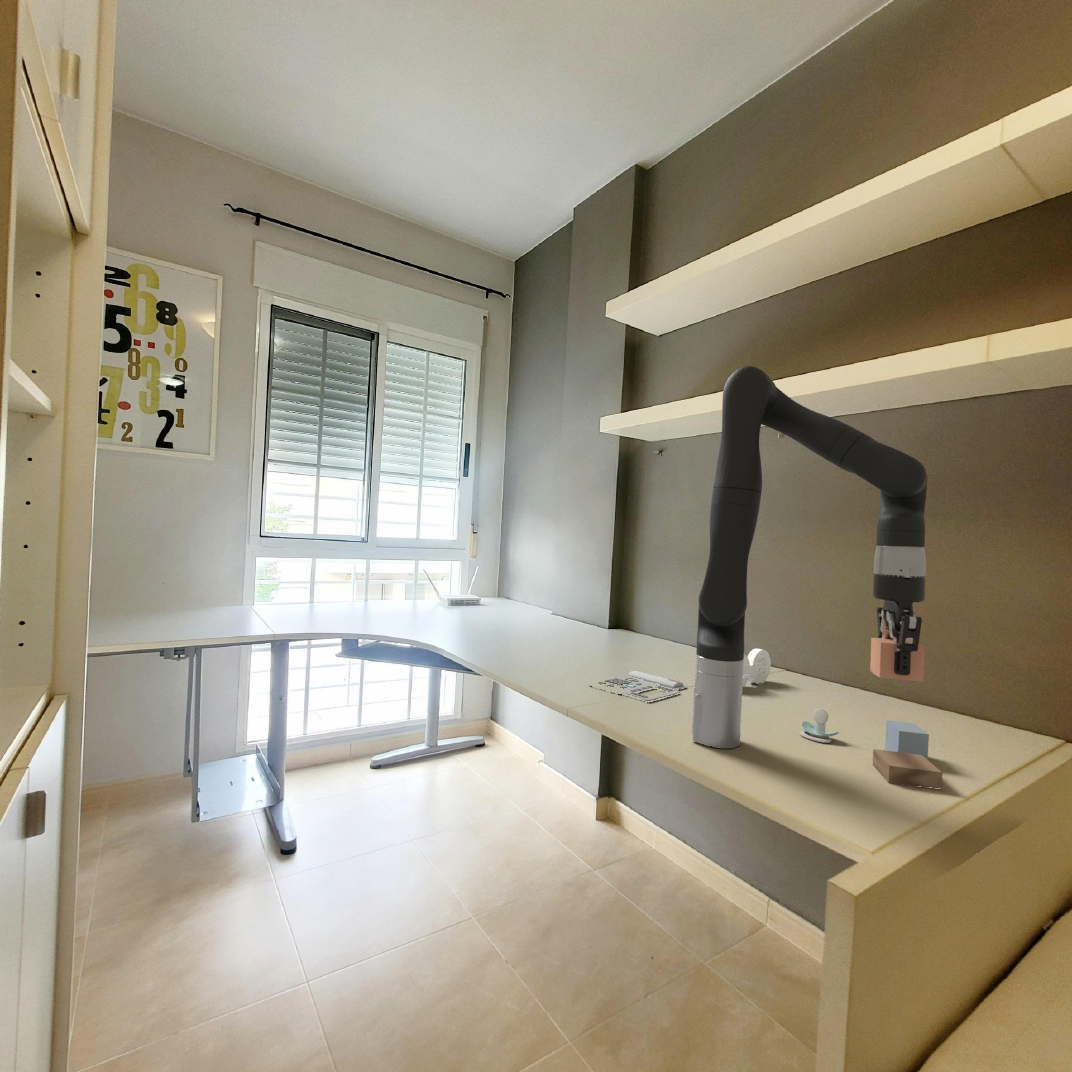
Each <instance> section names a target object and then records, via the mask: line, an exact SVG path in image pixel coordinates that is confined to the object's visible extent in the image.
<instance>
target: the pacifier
mask: <svg viewBox="0 0 1072 1072" xmlns="http://www.w3.org/2000/svg"><path fill="white" fill-rule="evenodd" d="M813 719H814V723H815V724H814V723H811V722H808V721H802V722H801V726H802V729H803V730H801V731H799V735H801V737H803V738H805V739H808V740H810V741H813V742H816V743H817V742H818V743H823V744H826V743H827V744H829V743H832V739H831V738H830V737H834V736H836V735H839V734H840V732H839V731H831V732H830V731H826V727H827V726H826V724H827V722H828V721H829V713H828V711H826V709H824V708H823V707H818V708H817V709H815V710H814V711H813Z"/></svg>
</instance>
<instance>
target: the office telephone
mask: <svg viewBox="0 0 1072 1072" xmlns="http://www.w3.org/2000/svg"><path fill="white" fill-rule="evenodd" d="M627 675H628V676H632V677H635V678H639V679H643V680H637V679H633V678H631V677H630V678H625V680H622V679H618V678H614V679H608V678H607V679H608V680H605V682H604V683H603V682H598V683H599V684H600V685H601V684H606V682H609V683H613V684H609V685H605V686H607V687H608V686H610V687H614V684H617V685H616V686H618V685H619V686H620V685H621V686H622V687H620V688H623V689H624V688H629V689H630V690H614V691H617V692H623V693H626V694H628V695H632V696H635V697H639V698H642V699H644V700H645V701H651V700H656V699H658V698H662V697H666V696H671V695H675V694H677V693H680V694H681V690H680V691H676V690H672V689H681V688H685V687H687V688H688V686H687V685H685V684H684V683H683V682H681V681H678V680H674V679H670V678H665V677H663V676H658V675H654V674H650V673H646V672H642V671H638V670H632V671H630V672H629V673H628V674H627ZM628 679H631V680H628ZM632 679H633V680H632ZM629 681H630V682H629ZM633 681H634V682H633ZM632 682H633V683H634V684H635V682H639V683H636V685H634V684H632ZM648 682H650V683H651V682H652V683H654V684H655V683H658V684H660V686H657V685H642V684H644V683H645V684H646V683H647V684H648ZM629 683H631V684H629ZM650 683H649V684H650ZM623 684H627V685H623ZM597 686H598V685H597ZM661 686H664V687H668V688H672V689H668V688H664V687H661ZM653 687H655V688H658V689H662V690H664V691H668V692H669V693H662V694H660V695H655V696H647V695H644V694H642V693H639V694H637V693H634V692H637V691H642V690H644V689H649V688H653ZM632 689H633V690H632Z"/></svg>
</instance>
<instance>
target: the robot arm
mask: <svg viewBox="0 0 1072 1072" xmlns="http://www.w3.org/2000/svg"><path fill="white" fill-rule="evenodd" d="M721 405H722V409H721V410H722V413H721V417H722V418H721V437H720V445H719V448H718V456H717V461H716V469H715V474H714V475H715V476H714V481H713V488H712V495H711V504H710V512H709V513H710V515H709V553H708V554H709V555H708V561H707V567H706V569H705V576H704V579H703V583H702V587H701V590H700V591H699V595H698V615H697V618H698V619H697V633H696V634H697V635H696V652H695V654H696V655H695V656H696V657H695V674H694V676H695V679H694V688H693V702H692V703H693V706H692V708H693V709H692V723H691V726H692V727H691V728H692V729H691V735H692V736H693V737H692V736H691V737H692V742H693V741H694V742H693V743H697V742H698V744H701V745H703V744H704V746H706V747H707V746H708V747H710V746H712V747H711V748H717V749H735V748H738V747H739V746H740V744H741V730H742V729H741V726H742V725H741V724H742V709H743V708H742V707H743V706H742V704H743V688H744V687H743V665H744V654H745V623H746V611H747V607H748V595H747V591H748V588H747V584H748V583H747V582H748V564H749V556H750V551H751V547H752V544H753V540H754V536H755V532H756V528H757V523H758V518H759V517H758V516H759V512H760V506H761V497H762V491H763V469H762V459H761V450H760V434H761V429H762V428H761V427H762V426H765V427H767V428H770V429H773V430H774V431H777V432H779V433H781V434H783V435H785V436H787V437H789V438H790V439H792V440H794V441H796V442H797V443H799V444H801V446H803V447H805V448H807V450H810V451H812V452H813V453H815V455H818V456H819V457H821V458H823V459H825V460H826V461H827V462H829V463H832V464H833V465H835V466H836V467H839V468H840V469H842V470H844V471H846V472H849V473H851V474H854V475H856V476H858V477H859V478H861V479H862V480H864V481H865V482H867V483H869V484H871V485H872V486H873V487H875V488H877V489H879V490H880V509H879V510H880V514H879V517H878V520H877V523H876V544H875V545H876V546H875V554H874V559H873V579H872V580H873V581H872V582H873V583H872V584H873V585H872V597H874V599H877V600H880V601H881V600H883V606H882V607H878V606H877V608H876V619H877V620H876V621H877V638H883V639H893V640H894V650H895V656H894V672H895V673H896V674H898V675H909V674H910V664H911V653H913V651H916V652H917V651H918V645H919V644H920V637H921V636H920V635H921V628H922V621H923V620H922V617H921V616H916V614H915V612H914V606H913V604H914V603H923V602H924V601H925V599H926V578H927V577H926V573H927V571H926V569H927V560H926V559H927V558H926V557H927V556H926V551H925V550H926V549H925V546H926V544H925V543H926V523H925V522H926V521H925V509H926V502H927V501H926V500H927V491H928V474H927V471H926V468H925V466H924V465H923V463H922V462H921V461H920V460H918V459H917V458H915V457H913V456H911V455H909V454H907V453H905V452H903V451H900V450H899V449H896V448H894V447H891V446H890V445H887V444H884V443H881V442H878V440H875V439H874V438H873V437H871V436H869V435H868V434H866V433H865V432H862V431H860V430H858V429H857V428H855V427H853V426H851V425H849V424H847V423H845V422H843V421H840V420H838V419H836V418H834V417H831V416H828V415H825V414H822V413H821V412H817V411H815V410H812V409H809V407H808V408H807V407H806V406H804V405H802V404H800V403H798V402H797V401H795V400H794V399H792V398H791V397H790V396H788V395H787V394H786V393H785V392H783V391H782V390H780V388H778V386H776V384H775V382H774V381H773V380H772V378H771V377H770V376H769V375H768V373H766V372H765V371H764V370H762V369H761V368H758V367H757V366H754V365H753V366H752V365H745V366H742V367H740V368H738V369H736V370H734V372H732V373H731V374H730V375H729V377H728V378H727V380H726V382H725V384H724V388H723V391H722V403H721ZM905 640H907V643H905ZM742 687H743V688H742ZM737 746H738V747H737Z"/></svg>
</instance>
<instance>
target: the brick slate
mask: <svg viewBox="0 0 1072 1072" xmlns="http://www.w3.org/2000/svg"><path fill="white" fill-rule="evenodd" d="M885 724H886V725H885V740H884V741H885V744H884V745H885V746H884V750H886V751H894V752H902V753H910V754H918V755H922V756H924V757H925V758H926V759H927V760H928V761H929V758H928V757H929V743H930V742H929V739H930V734H929V733H928V732H927V731H925V730H924V729H922V728H921V727H920V726H918V725H917V724H916V723H913V722H903V721H897V720H896V721H895V720H886V723H885Z"/></svg>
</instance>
